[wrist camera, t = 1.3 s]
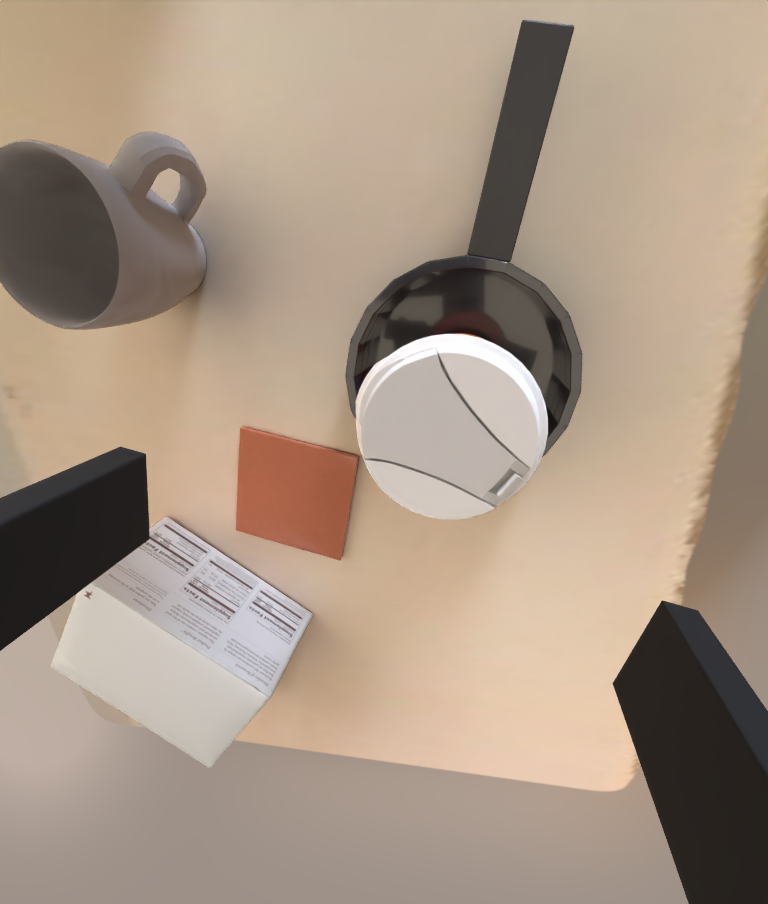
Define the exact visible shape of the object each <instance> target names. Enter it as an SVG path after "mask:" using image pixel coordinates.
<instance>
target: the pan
mask: <svg viewBox="0 0 768 904" xmlns="http://www.w3.org/2000/svg"><path fill="white" fill-rule="evenodd" d="M456 333H467V334H472V335H476V336H478V337H480V338H482V339H484V340H487V341H489V342H492V343H494V344H496V345H498V346H500V347H501V348H503V349H505V350H507V351H508V352H510V353H511V354H512V355H513V356H514V357H516V358H517V359H518V360H519V361H520V362H522V364H523V365H524V366H525V367H526V368H527V370H528V371H529V372H530V373H531V374H532V376H533V378H534V379H535V381H536V383H537V384H538V386H539V388H540V390H541V393H542V396H543V398H544V401H545V404H546V410H547V416H548V436H547V441H546V447H545V450H544V453H543V456H544V455H545V454H546V453H547V452H548V451H549V449H550V448H551V447H552V446H553V444H554V443H555V442H556V441H557V439H558V438H559V437H560V436H561V434H562V433H563V432H564V431H565V429H566V428H567V427H568V424H569V422H570V419H571V416H572V414H573V411H574V408H575V406H576V403H577V401H578V398H579V395H580V393H581V392H580V391H581V373H582V353H581V352H582V351H581V348H580V345H579V342H578V339H577V336H576V333H575V330H574V327H573V324H572V321H571V317H570V316H569V313H568V312H567V311H566V310H565V308H564V307H563V306H562V305H561V303H560V302H559V301H558V300H557V298H556V297H555V296H554V295H553V293H552V292H551V291H550V290H549V288H548V287H547V286H546V285H545V284H544V283H543V282H541V281H540V280H538V279H536V278H535V277H533V276H531V275H530V274H528V273H526V272H525V271H523V270H521V269H519V268H518V267H516V266H514V265H513V264H511V263H508V262H505V261H499V260H494V259H488V258H483V257H477V256H472V255H469V256H468V255H464V256H458V257H452V258H446V259H440V260H433V261H429V262H426V263H424V264H422V265H420V266H418V267H416V268H415V269H413V270H411V271H409V272H407V273H405V274H403V275H402V276H400V277H398V278H396V279H394V280H393V281H392V282H391V283H390V284H389V285H388V286H387V287H386V288H385V289H384V290H383V291H382V292H381V293H380V294H379V295H378V296H377V297H376V298H375V299H374V300H373V302H372V303H371V304H370V305H369V306H368V307H367V309H366V310H365V312H364V314H363V316H362V318H361V320H360V322H359V324H358V326H357V328H356V331H355V333H354V335H353V337H352V339H351V342H350V347H349V354H348V361H347V368H346V382H347V389H348V395H349V401H350V407H351V411H352V413H353V415H354V417H355V419H356V399H357V395H358V392H359V389H360V387H361V385H362V383H363V381H364V379H365V377H366V376H367V374H368V373H369V372H370V370H371V369H372V367H373V366H374V365H375V364H376V363H377V362H379V361H381V360H382V359H384V358H386V357H387V356H389V355H390V354H392V353H393V352H395V351H396V350H398V349H399V348H401V347H402V346H404V345H407V344H409V343H411V342H413V341H415V340H418V339H421V338H425V337H428V336H433V335H441V334H456ZM543 456H542V457H543Z"/></svg>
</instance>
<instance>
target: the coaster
mask: <svg viewBox="0 0 768 904" xmlns="http://www.w3.org/2000/svg"><path fill="white" fill-rule="evenodd" d="M358 460H359V456H357V455H353V454H349V453H345V452H341V451H337V450H333V449H329V448H325V447H321V446H317V445H313V444H309V443H306V442H302V441H298V440H294V439H290V438H286V437H282V436H278V435H274V434H270V433H266V432H262V431H258V430H255V429H251V428H247V427H242V428H240V445H239V469H238V493H237V518H236V530H237V531H241V532H244V533H247V534H251V535H254V536H258V537H261V538H265V539H268V540H272V541H275V542H278V543H282V544H285V545H289V546H292V547H296V548H299V549H303V550H306V551H309V552H313V553H316V554H320V555H323V556H327V557H330V558H334V559H337V560H341V558H342V555H343V549H344V543H345V537H346V531H347V525H348V519H349V513H350V507H351V501H352V495H353V490H354V484H355V478H356V472H357V466H358Z"/></svg>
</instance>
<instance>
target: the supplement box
mask: <svg viewBox="0 0 768 904" xmlns="http://www.w3.org/2000/svg"><path fill="white" fill-rule="evenodd" d="M149 535H150V539H149V540H148V541H146V542H145V543H144V544H142V545H141V546H140V547H138V548H137V549H136V550H134V551H133V552H132V553H130V554H129V555H128V556H126V557H125V558H124V559H122V560H121V561H120V562H118V563H117V564H116V565H114V566H113V567H112V568H110V569H109V570H108V571H106V572H105V573H104V574H102V575H101V576H100V577H98V578H97V579H96V580H94V581H93V582H92V583H90V584H89V585H88V586H86V587H85V588H84V589H82V590H81V591H80V592H78V593H77V596H76V598H75V601H74V604H73V607H72V610H71V612H70V615H69V618H68V621H67V624H66V626H65V629H64V632H63V634H62V637H61V640H60V642H59V645H58V647H57V650H56V652H55V655H54V658H53V661H52V664H51V668H52V669H53V670H55V671H57V672H59V673H61V674H62V675H64V676H65V677H67V678H69V679H70V680H72V681H73V682H75V683H77V684H78V685H80V686H81V687H83V688H84V689H86V690H88V691H89V692H91V693H92V694H94V695H96V696H97V697H99V698H100V699H102V700H103V701H105V702H107V703H108V704H110V705H111V706H113V707H114V708H116V709H118V710H119V711H121V712H122V713H124V714H125V715H127V716H129V717H130V718H132V719H133V720H135V721H136V722H138V723H140V724H141V725H143V726H144V727H146V728H148V729H149V730H151V731H152V732H154V733H155V734H157V735H159V736H160V737H162V738H163V739H165V740H166V741H168V742H170V743H171V744H173V745H174V746H176V747H177V748H179V749H181V750H182V751H184V752H185V753H187V754H188V755H190V756H191V757H193V758H195V759H196V760H198V761H199V762H201V763H202V764H204V765H205V766H207V767H208V768H211V766H212V765H213V764H214V763H215V761H216V760H217V759H218V758H219V757H220V756H221V755H222V753H223V752H224V751H225V750H226V749H227V747H228V746H229V745H230V744H231V742H232V741H233V740H234V739H235V738H236V737H237V735H238V734H239V733H240V732H241V731H242V730H243V728H244V727H245V726H246V725H247V724H248V723H249V722H250V721H251V719H252V718H253V717H254V716H255V715H256V714H257V713H258V712H259V710H260V709H261V708H262V707H263V706H264V705H265V703H266V702H267V701H268V700H269V699H270V698H271V696H272V694H273V692H274V690H275V689H276V687H277V685H278V683H279V681H280V679H281V676H282V674H283V672H284V670H285V668H286V666H287V664H288V662H289V661H290V659H291V656H292V654H293V652H294V650H295V648H296V646H297V645H298V643H299V641H300V639H301V637H302V635H303V633H304V631H305V629H306V627H307V625H308V624H309V622H310V620H311V618H312V616H313V614H312V613H311V612H309V611H308V610H306V609H305V608H303V607H302V606H300V605H299V604H297V603H296V602H294V601H293V600H291V599H290V598H288V597H287V596H285V595H284V594H282V593H281V592H279V591H278V590H276V589H275V588H273V587H272V586H270V585H269V584H267V583H266V582H264V581H263V580H261V579H260V578H258V577H257V576H255V575H254V574H252V573H251V572H249V571H248V570H246V569H245V568H243V567H242V566H240V565H239V564H237V563H236V562H234V561H233V560H231V559H230V558H228V557H227V556H225V555H224V554H222V553H221V552H219V551H218V550H216V549H215V548H213V547H212V546H210V545H209V544H207V543H206V542H204V541H203V540H201V539H200V538H198V537H197V536H195V535H194V534H192V533H191V532H189V531H188V530H186V529H184V528H183V527H181V526H180V525H179V524H177V523H176V522H174V521H173V520H171V519H170V518H168V517H164V518H163V519H162V520H160V521H159V522H158V523H156V524H155V525H154V526H152V527H151V528H150V529H149Z"/></svg>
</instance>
